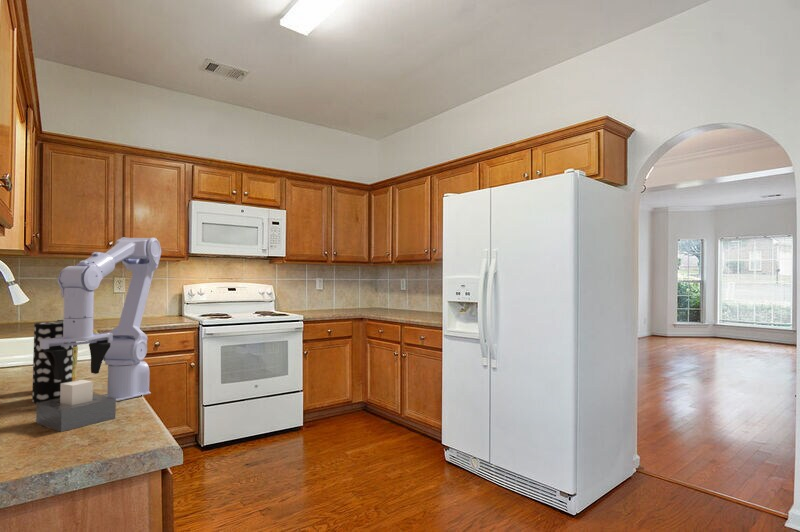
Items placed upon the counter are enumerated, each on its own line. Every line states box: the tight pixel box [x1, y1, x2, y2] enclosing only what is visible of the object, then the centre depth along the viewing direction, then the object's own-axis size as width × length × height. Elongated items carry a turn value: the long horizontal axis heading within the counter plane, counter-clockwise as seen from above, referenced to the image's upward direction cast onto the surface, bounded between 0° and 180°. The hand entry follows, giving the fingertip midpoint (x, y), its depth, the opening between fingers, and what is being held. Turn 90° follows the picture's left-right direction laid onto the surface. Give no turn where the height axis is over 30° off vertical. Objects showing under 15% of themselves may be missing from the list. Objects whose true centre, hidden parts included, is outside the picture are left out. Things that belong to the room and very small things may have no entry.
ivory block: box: [60, 379, 94, 406], centre depth 104 cm, size 4×4×8 cm
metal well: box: [35, 392, 117, 433], centre depth 104 cm, size 11×11×4 cm
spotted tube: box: [31, 321, 73, 404], centre depth 122 cm, size 8×8×20 cm
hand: (77, 376), depth 107 cm, fingers open, 7 cm apart
